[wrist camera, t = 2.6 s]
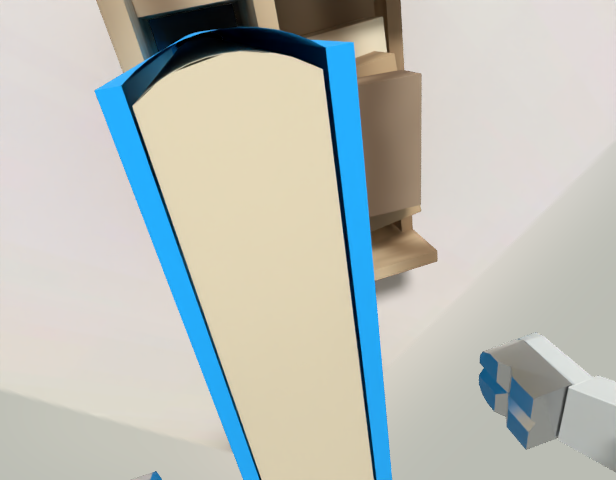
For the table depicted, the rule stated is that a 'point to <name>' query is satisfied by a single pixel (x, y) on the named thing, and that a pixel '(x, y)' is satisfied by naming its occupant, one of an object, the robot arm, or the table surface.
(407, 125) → the offcut small
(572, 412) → the robot arm
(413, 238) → the rack
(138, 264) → the table surface
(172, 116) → the book
